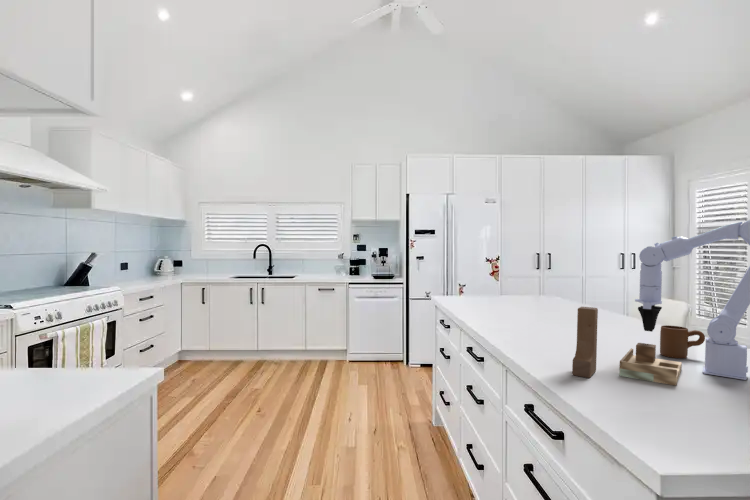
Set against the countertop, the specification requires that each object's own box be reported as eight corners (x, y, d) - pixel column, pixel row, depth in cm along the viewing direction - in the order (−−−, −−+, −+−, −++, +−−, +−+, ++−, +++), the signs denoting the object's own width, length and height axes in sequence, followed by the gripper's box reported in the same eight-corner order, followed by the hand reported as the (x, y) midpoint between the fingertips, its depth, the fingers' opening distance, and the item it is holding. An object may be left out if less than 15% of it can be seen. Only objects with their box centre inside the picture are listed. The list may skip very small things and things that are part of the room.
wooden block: (589, 378, 120) (591, 311, 119) (571, 375, 122) (573, 309, 122) (596, 371, 127) (598, 307, 127) (579, 368, 130) (580, 306, 129)
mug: (703, 357, 146) (704, 328, 145) (705, 362, 139) (706, 332, 139) (659, 352, 152) (660, 324, 152) (659, 356, 146) (660, 327, 146)
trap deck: (681, 369, 131) (681, 355, 131) (676, 385, 115) (676, 370, 115) (630, 361, 139) (631, 348, 139) (619, 375, 123) (619, 361, 123)
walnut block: (655, 360, 133) (655, 344, 133) (653, 363, 129) (654, 347, 129) (637, 357, 136) (638, 342, 135) (635, 360, 132) (636, 345, 132)
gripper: (638, 283, 146) (637, 325, 146) (632, 286, 134) (630, 331, 135) (664, 285, 142) (663, 328, 142) (659, 288, 130) (658, 335, 130)
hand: (649, 330), depth 138 cm, fingers open, 3 cm apart
